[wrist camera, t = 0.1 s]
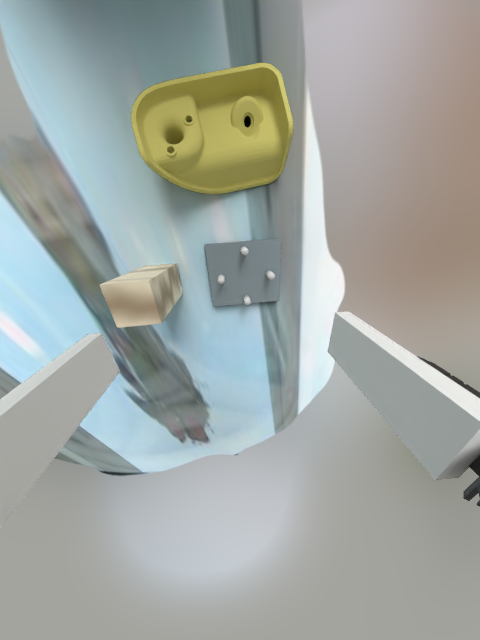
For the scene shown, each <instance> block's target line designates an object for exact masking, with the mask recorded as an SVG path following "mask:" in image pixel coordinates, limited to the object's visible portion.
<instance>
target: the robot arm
mask: <svg viewBox="0 0 480 640" xmlns="http://www.w3.org/2000/svg"><path fill="white" fill-rule="evenodd" d="M328 353H329V354H330V355H331V356H332V357H333V358H334V360H335V361H336V362H337V363H338V364H339V366H340V367H341V368H342V369H343V370H344V372H345V373H346V374H347V375H348V376H349V378H350V379H351V380H352V381H353V382H354V383H355V385H356V386H357V387H358V388H359V389H360V391H361V392H362V393H363V394H364V396H365V397H366V398H367V399H368V400H369V401H370V403H371V404H372V405H373V406H374V408H375V409H377V411H378V412H379V413H380V415H381V416H382V417H383V418H384V419H385V421H386V422H387V423H388V424H389V425H390V427H391V428H392V429H393V430H394V431H395V433H397V435H398V436H399V437H400V439H401V440H402V441H403V442H404V443H405V445H406V446H407V447H408V448H409V449H410V450H411V452H412V453H413V454H414V455H415V456H416V458H417V459H418V460H419V461H420V462H421V464H422V465H423V466H424V467H425V468H426V470H427V471H428V472H429V473H430V474H431V476H432V477H433V478H434V479H435V480H442V479H450V478H459V477H460V476H461V475H462V474H463V473H464V472H465V471H466V470H467V469H468V468H469V467H470V468H471V469H472V470H473V471H474V472H475V473H476V474H477V475H479V477H478V478H477V479H476V480H475V481H474V482H473V483H472V484H471V485H470V486H469V487H468V488H467V489H466V490H465V491H464V499H466V500H468V501H470V499H472V498H473V497H474V496H475V495H476V494H478V493H479V496H480V392H478V391H476V390H475V389H473V388H472V387H470V386H469V385H465V384H464V383H463V382H462V381H461V380H459V379H458V378H456V377H455V376H451V375H450V373H448V372H447V371H445V370H444V369H442V368H440V367H439V366H437V365H436V364H434V363H432V362H429V361H427V360H425V359H423V358H420V357H418V356H415V355H413V354H412V353H410V352H409V351H407V350H406V349H404V348H402V347H401V346H400V345H398V344H397V343H395V342H394V341H392V340H391V339H389V338H388V337H386V336H385V335H383V334H381V333H380V332H379V331H377V330H376V329H374V328H373V327H371V326H370V325H368V324H366V323H365V322H364V321H362V320H361V319H359V318H357V317H356V316H354V315H353V314H351V313H350V312H336V313H335V316H334V322H333V327H332V332H331V337H330V343H329V348H328ZM119 372H120V370H119V368H118V366H117V364H116V362H115V360H114V358H113V356H112V353H111V351H110V349H109V347H108V345H107V343H106V341H105V339H104V337H103V335H102V333H98V334H87V335H86V336H85V337H83V338H82V339H81V340H79V341H78V342H77V343H75V344H74V345H73V346H71V347H70V348H69V349H67V350H66V351H65V352H63V353H62V354H61V355H59V356H58V357H57V358H55V359H54V360H52V361H51V362H50V363H48V364H47V365H46V366H44V367H43V368H42V369H40V370H39V371H38V372H36V373H35V374H34V375H32V376H31V377H30V378H28V379H27V380H26V381H24V382H23V383H22V384H20V385H19V386H18V387H16V388H15V389H14V390H12V391H11V392H9V393H8V394H7V395H5V396H4V397H3V398H1V399H0V529H1V527H2V526H3V525H4V523H5V522H6V521H7V519H8V518H9V517H10V516H11V514H12V513H13V512H14V510H15V509H16V508H17V506H18V505H19V504H20V502H21V501H22V500H23V498H24V497H25V496H26V494H27V493H28V492H29V491H30V489H31V488H32V487H33V485H34V484H35V483H36V481H37V480H38V479H39V477H40V476H41V475H42V473H43V472H44V471H45V469H46V468H47V467H48V465H49V464H50V463H51V461H52V460H53V459H54V458H55V456H56V455H57V454H58V452H59V451H60V450H61V448H62V447H63V446H64V444H65V443H66V442H67V441H68V439H69V438H70V437H71V435H72V434H73V433H74V431H75V430H76V429H77V427H78V426H79V425H80V423H81V422H82V421H83V419H84V418H85V417H86V416H87V414H88V413H89V412H90V410H91V409H92V408H93V406H94V405H95V404H96V402H97V401H98V400H99V398H100V397H101V396H102V394H103V393H104V392H105V390H106V389H107V388H108V387H109V385H110V384H111V383H112V381H113V380H114V379H115V377H116V376H117V375H118V373H119ZM477 505H478V506H480V500H479V501H478V503H477Z"/></svg>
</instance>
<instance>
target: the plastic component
mask: <svg viewBox="0 0 480 640" xmlns="http://www.w3.org/2000/svg"><path fill="white" fill-rule="evenodd" d="M246 116H249V117H250V120H251V124H250V126H249V127H248V128H247V127H245V125H244V119H245V117H246ZM131 121H132V127H133V131H134V135H135V138H136V142H137V146H138V149H139V153H140V155H141V157H142V158H143V160H144V161H145V163H146V164H147V165H148V166H149V167H150V168H151V169H152V170H154V171H155V172H156V173H157V174H159V175H160V176H162V177H163V178H164V179H166V180H168V181H170V182H171V183H173V184H175V185H177V186H180V187H182V188H185V189H188V190H191V191H194V192H199V193H206V194H221V193H229V192H233V191H238V190H242V189H247V188H251V187H256V186H260V185H265V184H269V183H271V182H273V181H274V180H276V179H277V178H278V177H279V176H280V174H281V173H282V171H283V169H284V167H285V163H286V159H287V155H288V151H289V147H290V143H291V139H292V135H293V120H292V115H291V111H290V107H289V103H288V99H287V95H286V91H285V87H284V83H283V79H282V76H281V74H280V72H279V71H278V70H277V68H275V67H274V66H272V65H270V64H267V63H257V64H252V65H247V66H241V67H236V68H231V69H225V70H220V71H215V72H210V73H204V74H199V75H194V76H188V77H183V78H178V79H174V80H169V81H165V82H161V83H158V84H155V85H153V86H151V87H149V88H147V89H146V90H144V91H143V92H142V93H141V94H140V95H139V96H138V97H137V99H136V101H135V102H134V105H133V108H132V112H131ZM188 121H191V122H189V123H188Z"/></svg>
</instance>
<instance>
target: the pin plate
mask: <svg viewBox="0 0 480 640" xmlns="http://www.w3.org/2000/svg"><path fill="white" fill-rule="evenodd" d="M205 252H206V259H207V266H208V273H209V280H210V287H211V294H212V301H213V306H225V305H236V304H246V305H250V303H258V302H269V301H279V295H280V262H281V239H280V238H278V239H265V240H252V241H240V242H227V243H214V244H205Z"/></svg>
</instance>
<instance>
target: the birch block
mask: <svg viewBox="0 0 480 640" xmlns="http://www.w3.org/2000/svg"><path fill="white" fill-rule="evenodd" d="M100 288H101V290H102V292H103V295H104V297H105V299H106V302H107V304H108V306H109V309H110V311H111V314H112V316H113V318H114V321H115V323H116V325H117V328H119V327H129V326H140V325H151V324H161V323H162V322H163V321H164V319H165V318H166V316H167V315H168V314H169V312H170V311H171V309H172V308H173V307H174V305H175V304H176V302H177V301H178V300H179V298H180V297H181V295H182V294H183V290H182V285H181V281H180V276H179V272H178V267H177V263H175V264H163V265H150V266H144V267H142V268H139V269H137V270H134V271H132V272H129V273H127V274H124V275H122V276H120V277H117V278H115V279H112V280H110V281H107V282H105V283H103V284H100Z"/></svg>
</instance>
